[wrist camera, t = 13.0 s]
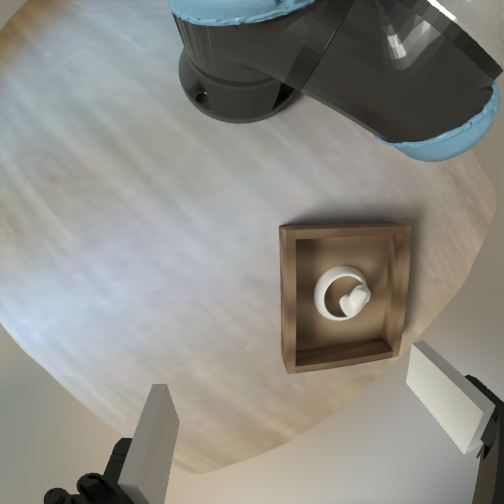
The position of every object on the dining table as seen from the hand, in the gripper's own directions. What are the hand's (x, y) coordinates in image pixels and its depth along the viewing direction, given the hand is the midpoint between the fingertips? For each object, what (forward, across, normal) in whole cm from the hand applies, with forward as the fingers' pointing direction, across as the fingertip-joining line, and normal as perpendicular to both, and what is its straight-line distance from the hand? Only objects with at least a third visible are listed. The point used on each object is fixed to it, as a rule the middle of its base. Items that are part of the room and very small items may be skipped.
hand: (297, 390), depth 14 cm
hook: (+24, +10, -5) cm, 27 cm away
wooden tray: (+25, +10, -4) cm, 27 cm away
